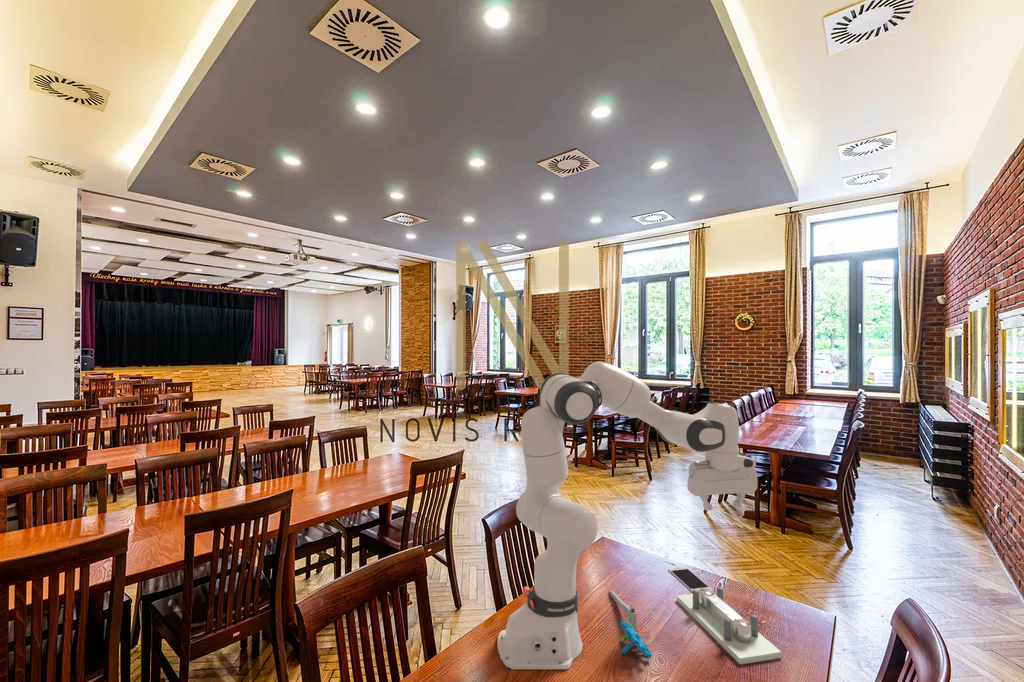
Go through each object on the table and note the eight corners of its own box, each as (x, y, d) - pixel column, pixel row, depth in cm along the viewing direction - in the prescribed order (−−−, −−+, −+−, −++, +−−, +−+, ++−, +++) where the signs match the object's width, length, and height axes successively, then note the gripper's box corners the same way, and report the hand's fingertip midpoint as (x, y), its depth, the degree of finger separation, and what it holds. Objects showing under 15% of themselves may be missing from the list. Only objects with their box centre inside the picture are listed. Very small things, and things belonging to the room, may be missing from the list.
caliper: (636, 634, 120) (636, 611, 120) (633, 634, 120) (632, 611, 120) (611, 592, 140) (611, 573, 141) (608, 593, 140) (608, 573, 140)
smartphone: (693, 595, 139) (693, 592, 139) (667, 571, 154) (667, 568, 154) (713, 593, 140) (713, 590, 141) (685, 569, 156) (685, 566, 156)
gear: (658, 661, 107) (628, 629, 108) (641, 680, 106) (611, 647, 108) (646, 638, 118) (619, 609, 119) (631, 654, 117) (604, 625, 119)
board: (739, 664, 108) (739, 638, 108) (676, 600, 135) (676, 579, 136) (781, 657, 110) (781, 632, 110) (711, 596, 138) (710, 575, 138)
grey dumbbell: (740, 644, 113) (740, 629, 113) (696, 602, 132) (696, 589, 132) (755, 642, 114) (754, 627, 114) (708, 600, 133) (708, 587, 133)
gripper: (695, 464, 119) (696, 515, 118) (761, 460, 123) (761, 510, 122) (682, 459, 125) (683, 507, 125) (745, 455, 129) (745, 502, 129)
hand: (722, 508), depth 124 cm, fingers open, 8 cm apart
